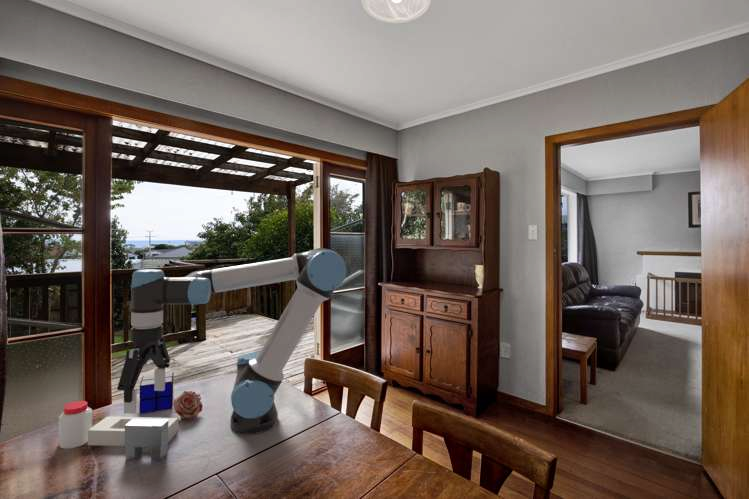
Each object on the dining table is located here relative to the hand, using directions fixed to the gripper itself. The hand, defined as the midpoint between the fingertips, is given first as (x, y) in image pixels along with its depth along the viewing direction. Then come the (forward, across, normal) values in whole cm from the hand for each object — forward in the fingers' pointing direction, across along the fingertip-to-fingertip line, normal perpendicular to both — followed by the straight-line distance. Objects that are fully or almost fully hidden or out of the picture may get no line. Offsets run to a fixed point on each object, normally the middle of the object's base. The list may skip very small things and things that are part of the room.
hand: (145, 401), depth 102 cm
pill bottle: (+17, -7, -24) cm, 30 cm away
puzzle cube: (+17, -30, -14) cm, 37 cm away
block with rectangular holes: (+16, -9, -8) cm, 20 cm away
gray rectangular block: (+16, 0, 0) cm, 16 cm away
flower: (+16, -22, +2) cm, 28 cm away
